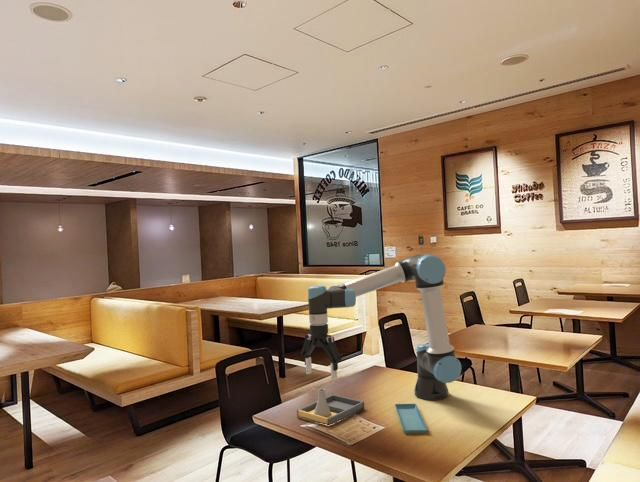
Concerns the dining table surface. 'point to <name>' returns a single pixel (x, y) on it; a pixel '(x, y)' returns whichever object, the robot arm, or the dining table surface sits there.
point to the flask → (322, 405)
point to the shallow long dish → (411, 419)
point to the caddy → (332, 410)
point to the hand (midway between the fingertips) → (321, 375)
